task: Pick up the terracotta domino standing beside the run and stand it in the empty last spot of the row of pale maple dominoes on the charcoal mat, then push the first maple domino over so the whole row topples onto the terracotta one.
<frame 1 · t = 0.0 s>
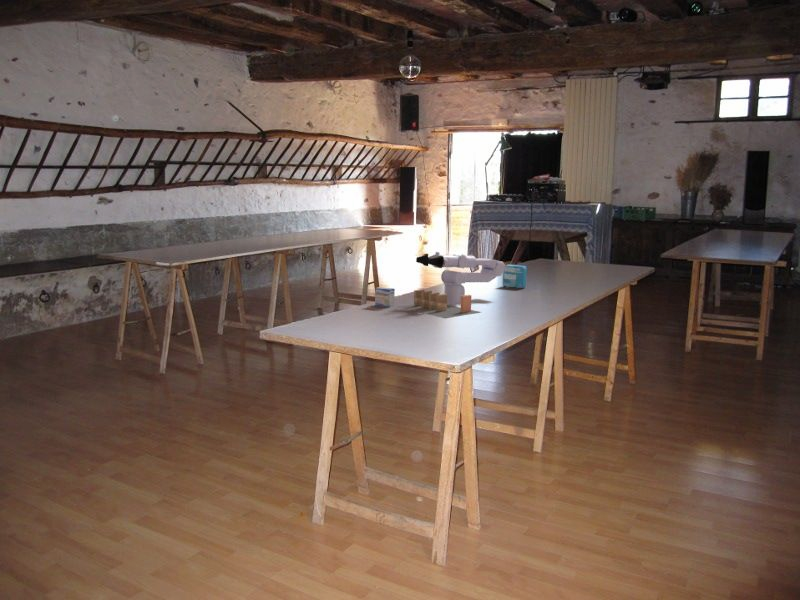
hand: (422, 260, 305), 22 cm above the table, tool horizontal, fingers open, 7 cm apart
medicine box: (384, 307, 312), on the table
domino 3: (433, 308, 306), resting on mat
domino 4: (441, 310, 302), resting on mat
mat: (438, 310, 305), on the table
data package: (514, 287, 372), on the table
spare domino: (465, 311, 300), resting on mat
domino 2: (426, 307, 309), resting on mat
domino 1: (419, 305, 313), resting on mat
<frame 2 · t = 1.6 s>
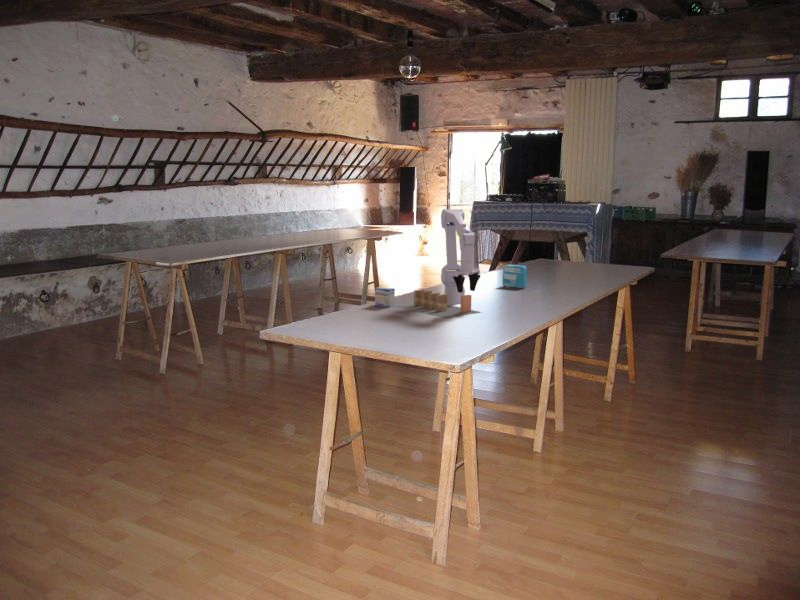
hand: (466, 291, 299), 9 cm above the table, tool pointing down, fingers open, 7 cm apart
nothing on the table moved.
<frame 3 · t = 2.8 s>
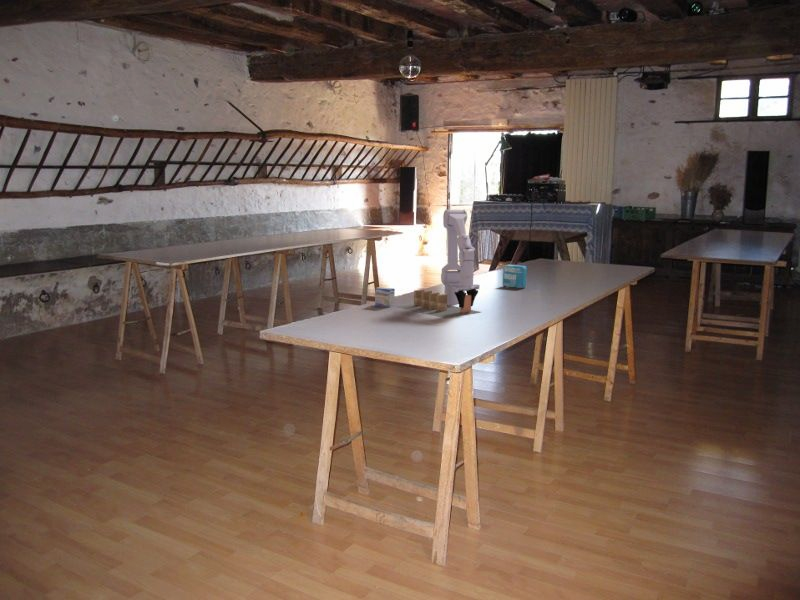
hand: (465, 306, 300), 3 cm above the table, tool pointing down, fingers closed on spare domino, 5 cm apart
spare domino: (465, 311, 300), resting on mat, touching gripper
everything else where it was.
when the fingers open (4 cm above the table, at t = 6.7 s): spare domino stays where it is, resting on mat.
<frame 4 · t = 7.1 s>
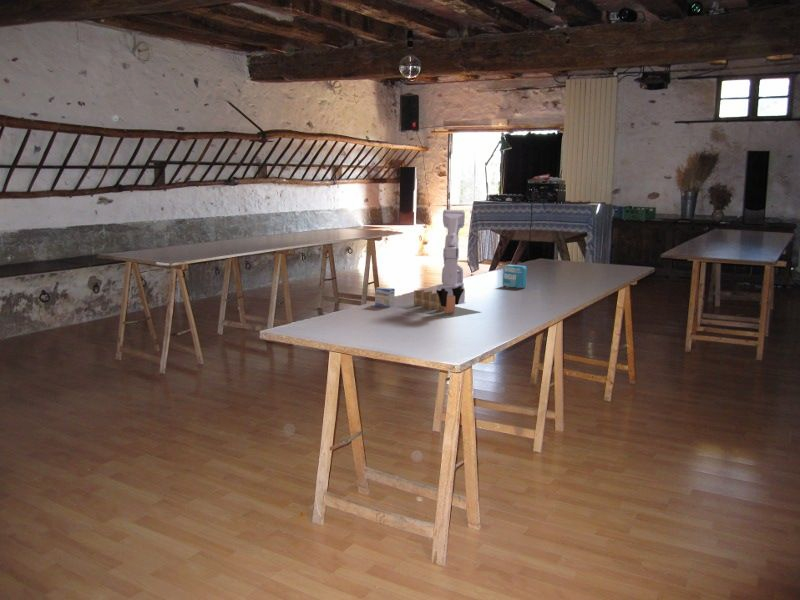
hand: (449, 305, 298), 4 cm above the table, tool pointing down, fingers open, 7 cm apart
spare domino: (449, 312, 298), resting on mat
everything else where it was.
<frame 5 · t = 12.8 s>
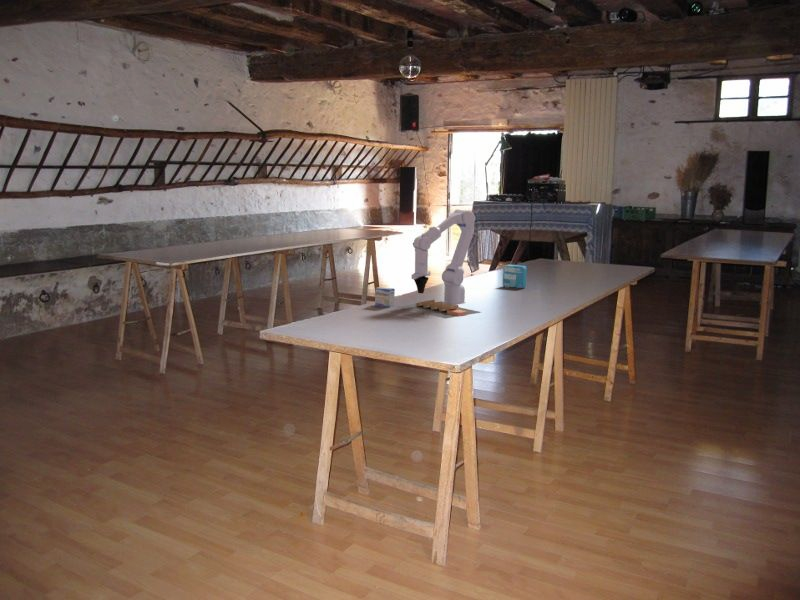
hand: (420, 293, 311), 6 cm above the table, tool pointing down, fingers closed
domino 3: (435, 307, 305), point 1 cm above the table, tilted 73°, touching domino 2, domino 4, mat
domino 4: (443, 309, 301), point 1 cm above the table, tilted 72°, touching domino 3, mat, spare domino
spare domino: (451, 311, 297), point 1 cm above the table, tilted 90°, touching domino 4, mat
domino 2: (427, 306, 309), point 1 cm above the table, tilted 72°, touching domino 1, domino 3, mat
domino 1: (420, 304, 312), point 1 cm above the table, tilted 73°, touching domino 2, mat
everything else where it was.
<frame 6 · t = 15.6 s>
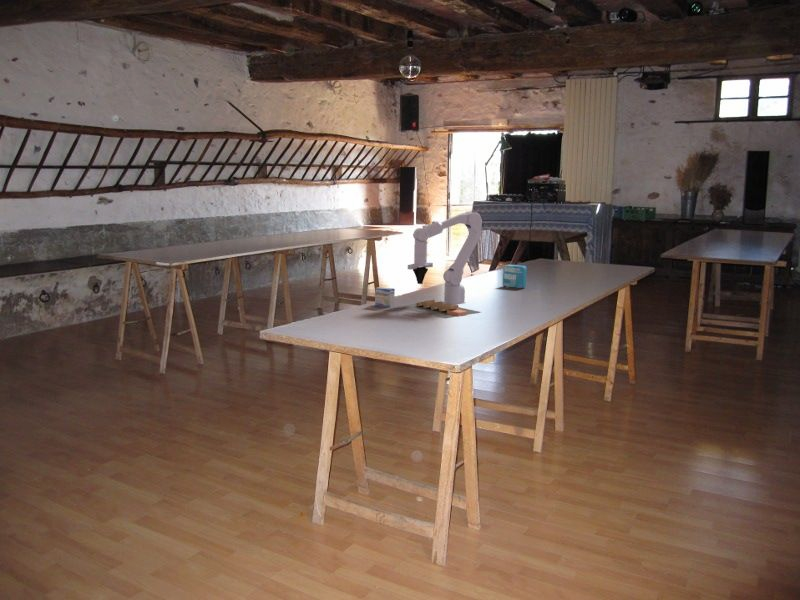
hand: (420, 283, 316), 10 cm above the table, tool pointing down, fingers closed
nothing on the table moved.
at the end: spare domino tilted 90°; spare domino inside the target area (0.1 cm from its centre), point 1.1 cm above the table; medicine box moved 0.3 cm from its start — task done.
